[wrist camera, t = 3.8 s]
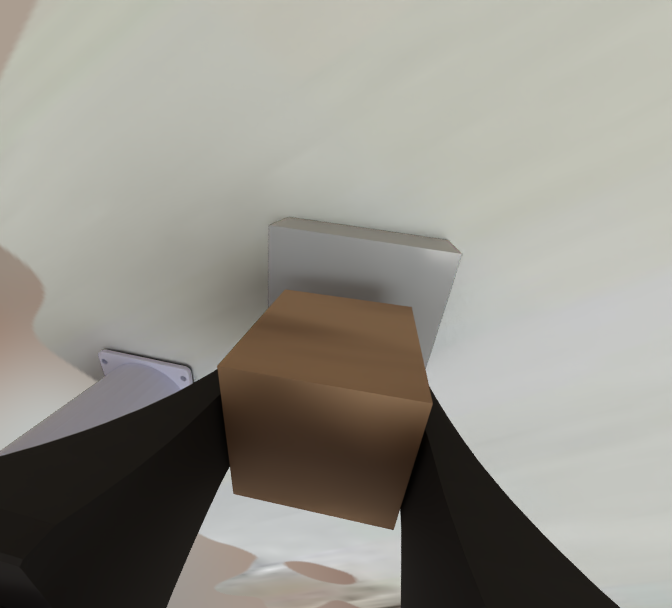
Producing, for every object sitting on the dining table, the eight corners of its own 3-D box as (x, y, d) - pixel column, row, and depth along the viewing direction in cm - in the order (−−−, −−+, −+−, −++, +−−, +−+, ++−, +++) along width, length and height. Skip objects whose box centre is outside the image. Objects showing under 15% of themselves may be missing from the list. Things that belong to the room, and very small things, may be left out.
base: (410, 371, 19) (414, 403, 16) (283, 346, 20) (267, 373, 17) (448, 240, 15) (462, 253, 12) (288, 216, 16) (268, 225, 13)
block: (390, 404, 13) (393, 530, 8) (284, 386, 13) (233, 493, 9) (411, 306, 10) (432, 403, 6) (285, 289, 11) (216, 366, 7)
